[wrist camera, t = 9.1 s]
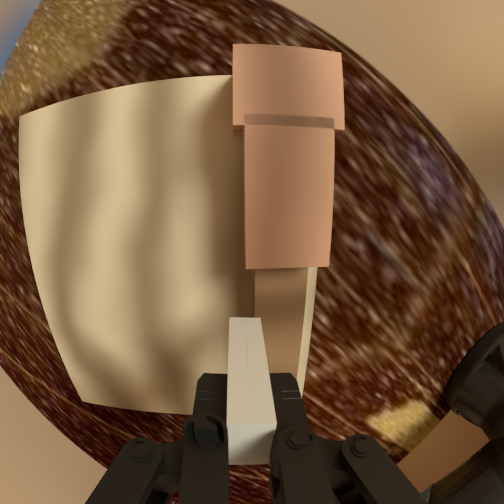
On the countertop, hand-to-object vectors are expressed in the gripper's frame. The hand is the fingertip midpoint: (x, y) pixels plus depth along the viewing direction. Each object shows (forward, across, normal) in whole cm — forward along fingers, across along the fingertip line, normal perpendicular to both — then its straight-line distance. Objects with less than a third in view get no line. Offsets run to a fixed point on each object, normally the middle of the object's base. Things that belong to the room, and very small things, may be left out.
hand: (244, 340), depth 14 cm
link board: (+7, +6, 0) cm, 9 cm away
